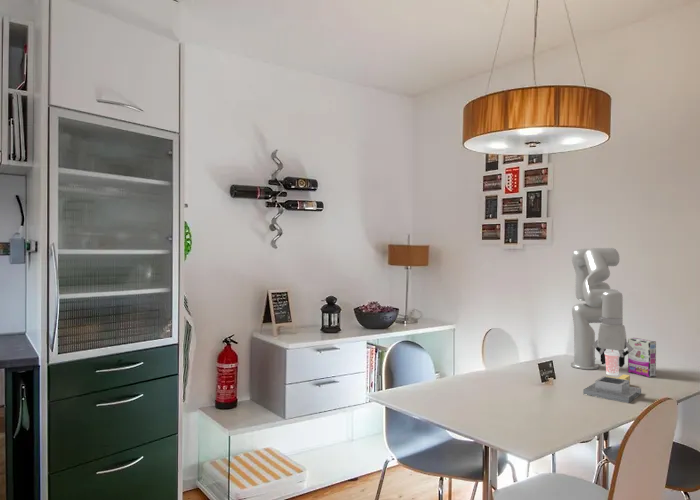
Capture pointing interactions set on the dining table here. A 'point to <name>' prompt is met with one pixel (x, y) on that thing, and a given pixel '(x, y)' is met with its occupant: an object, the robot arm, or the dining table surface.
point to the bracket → (623, 377)
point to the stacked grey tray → (613, 389)
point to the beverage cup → (612, 362)
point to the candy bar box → (642, 357)
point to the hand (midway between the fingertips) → (612, 364)
